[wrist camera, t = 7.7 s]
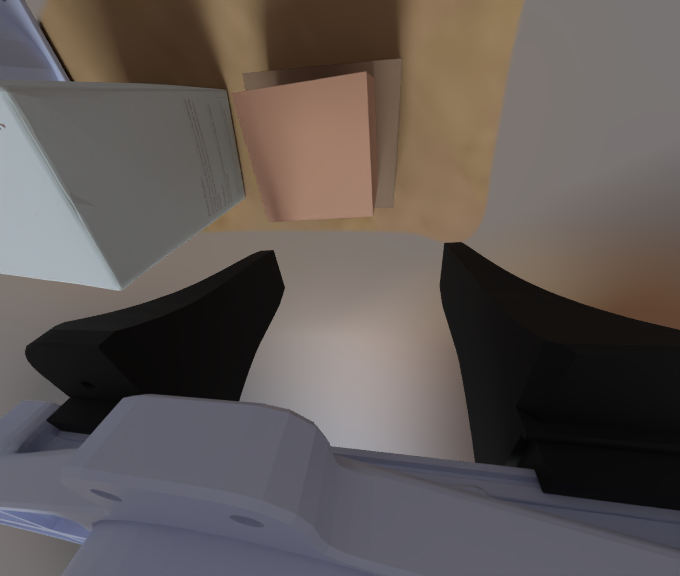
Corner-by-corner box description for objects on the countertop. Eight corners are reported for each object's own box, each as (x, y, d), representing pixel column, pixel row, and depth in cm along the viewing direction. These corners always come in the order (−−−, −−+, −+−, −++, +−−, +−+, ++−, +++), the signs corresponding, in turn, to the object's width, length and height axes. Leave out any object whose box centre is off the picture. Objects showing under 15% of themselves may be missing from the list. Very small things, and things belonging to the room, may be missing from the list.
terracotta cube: (298, 191, 17) (268, 222, 13) (277, 93, 14) (231, 93, 10) (377, 185, 16) (372, 216, 12) (374, 78, 13) (366, 70, 9)
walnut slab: (289, 190, 21) (271, 208, 18) (270, 77, 17) (242, 73, 13) (393, 189, 19) (393, 207, 16) (400, 65, 15) (402, 58, 12)
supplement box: (126, 81, 18) (-220, 64, 8) (230, 88, 17) (-2, 80, 7) (164, 192, 22) (-25, 273, 12) (247, 201, 22) (122, 296, 11)
